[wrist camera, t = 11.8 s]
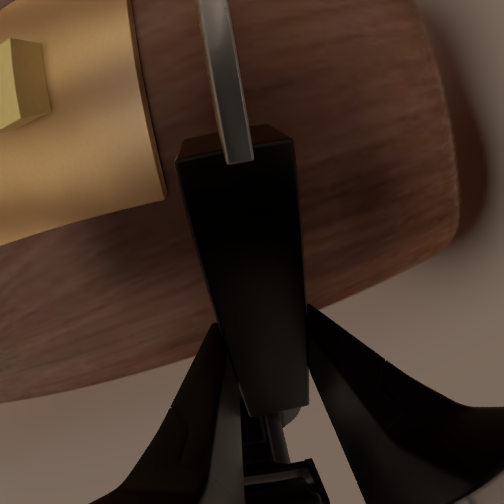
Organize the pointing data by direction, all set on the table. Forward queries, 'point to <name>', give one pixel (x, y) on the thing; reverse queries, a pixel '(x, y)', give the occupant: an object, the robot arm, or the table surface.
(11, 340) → the table surface
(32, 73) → the butter slice
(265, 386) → the knife
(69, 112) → the board
